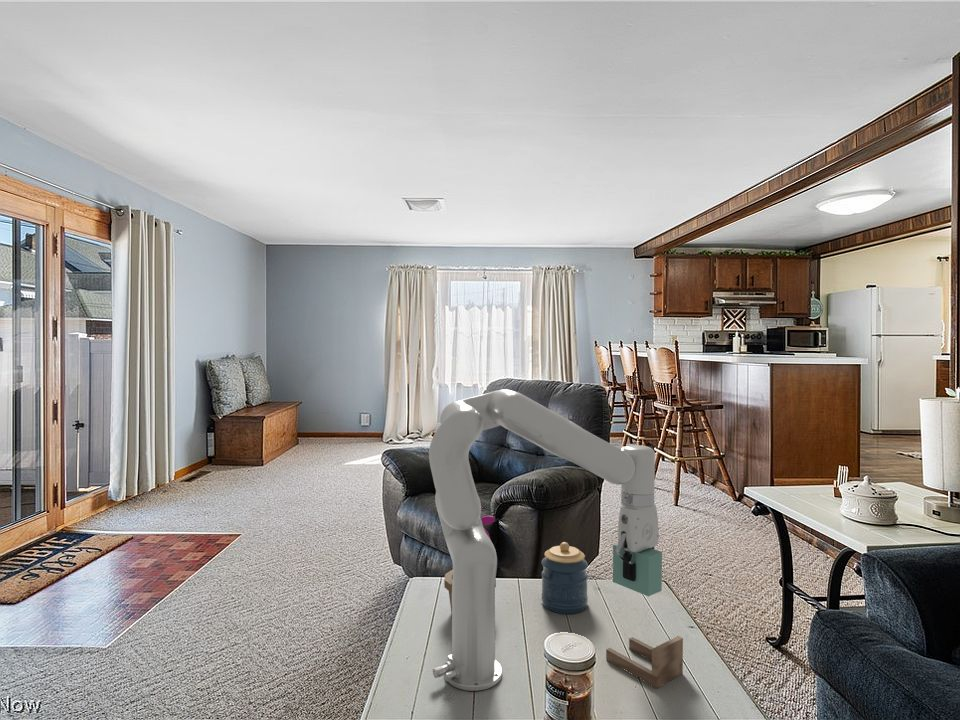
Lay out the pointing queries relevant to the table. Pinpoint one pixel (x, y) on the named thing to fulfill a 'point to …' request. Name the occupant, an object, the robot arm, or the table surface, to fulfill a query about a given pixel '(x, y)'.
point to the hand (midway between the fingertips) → (636, 575)
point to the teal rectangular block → (641, 571)
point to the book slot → (663, 660)
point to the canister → (564, 579)
